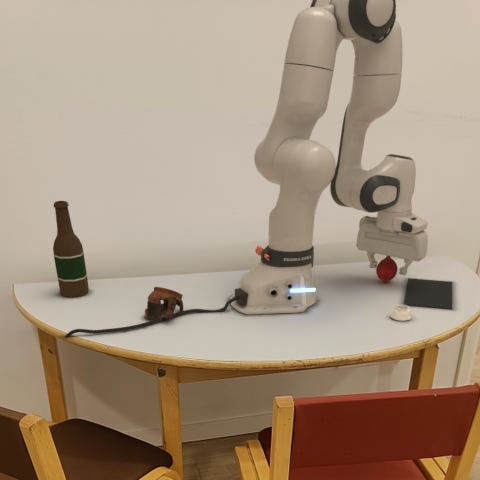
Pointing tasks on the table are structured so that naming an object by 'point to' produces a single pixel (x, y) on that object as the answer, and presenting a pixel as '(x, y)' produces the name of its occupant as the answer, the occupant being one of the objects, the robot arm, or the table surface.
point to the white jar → (401, 313)
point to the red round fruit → (386, 269)
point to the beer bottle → (69, 255)
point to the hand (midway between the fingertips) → (387, 270)
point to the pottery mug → (169, 305)
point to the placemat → (429, 293)
